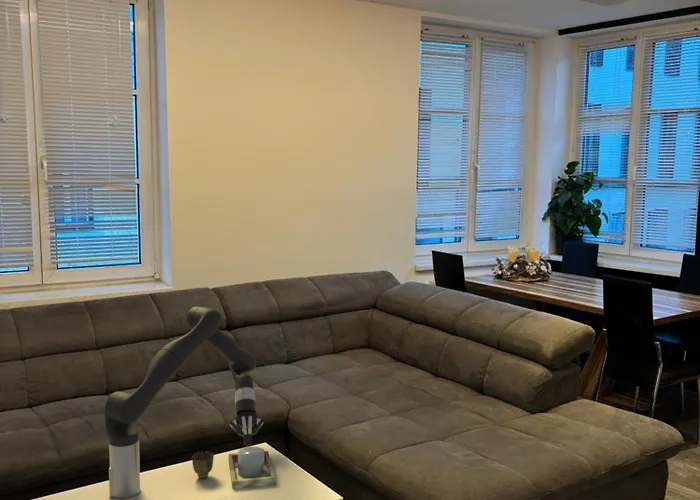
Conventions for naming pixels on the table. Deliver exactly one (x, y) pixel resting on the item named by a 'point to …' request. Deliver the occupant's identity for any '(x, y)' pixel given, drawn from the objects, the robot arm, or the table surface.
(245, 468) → the slate stoneware canister
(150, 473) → the table surface
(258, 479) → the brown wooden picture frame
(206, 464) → the cup
